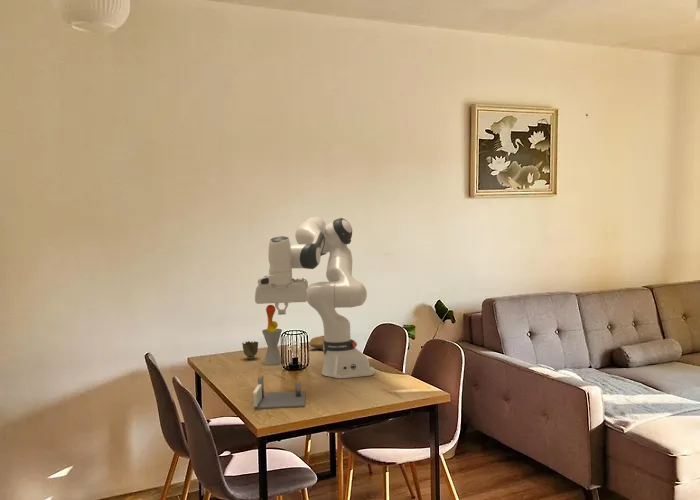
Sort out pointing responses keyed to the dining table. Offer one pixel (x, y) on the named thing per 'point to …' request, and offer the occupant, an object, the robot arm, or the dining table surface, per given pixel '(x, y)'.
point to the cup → (250, 349)
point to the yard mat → (281, 400)
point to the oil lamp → (317, 342)
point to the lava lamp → (272, 338)
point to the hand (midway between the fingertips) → (281, 314)
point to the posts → (297, 387)
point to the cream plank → (257, 395)
